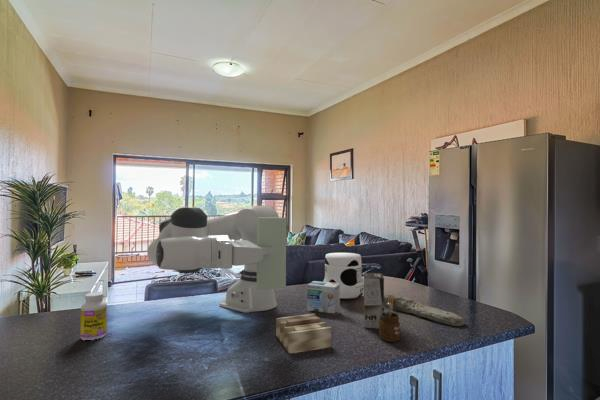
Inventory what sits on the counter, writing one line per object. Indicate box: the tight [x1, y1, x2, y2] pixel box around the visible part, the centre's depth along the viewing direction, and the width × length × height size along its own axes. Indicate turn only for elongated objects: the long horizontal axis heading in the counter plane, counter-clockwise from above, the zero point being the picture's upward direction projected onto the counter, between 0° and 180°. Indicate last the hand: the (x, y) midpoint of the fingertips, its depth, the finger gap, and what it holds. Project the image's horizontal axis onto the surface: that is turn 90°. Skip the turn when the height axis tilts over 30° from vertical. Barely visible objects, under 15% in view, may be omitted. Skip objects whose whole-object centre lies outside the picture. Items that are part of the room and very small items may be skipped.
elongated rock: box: [384, 294, 465, 327], centre depth 123 cm, size 35×5×10 cm
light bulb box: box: [306, 280, 341, 314], centre depth 122 cm, size 11×7×11 cm, turn 68°
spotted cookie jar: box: [322, 252, 364, 301], centre depth 143 cm, size 17×17×18 cm
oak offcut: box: [294, 325, 321, 331], centre depth 90 cm, size 7×2×5 cm, turn 110°
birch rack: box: [275, 313, 333, 354], centre depth 94 cm, size 12×13×6 cm
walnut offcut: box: [286, 315, 320, 327], centre depth 94 cm, size 9×2×6 cm, turn 110°
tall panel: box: [257, 217, 287, 290], centre depth 95 cm, size 8×2×20 cm, turn 110°
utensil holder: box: [378, 294, 401, 343], centre depth 99 cm, size 6×6×12 cm
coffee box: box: [363, 272, 385, 330], centre depth 112 cm, size 9×6×16 cm
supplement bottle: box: [80, 291, 108, 341], centre depth 100 cm, size 7×7×13 cm
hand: (271, 249), depth 95 cm, fingers closed on tall panel, 2 cm apart
